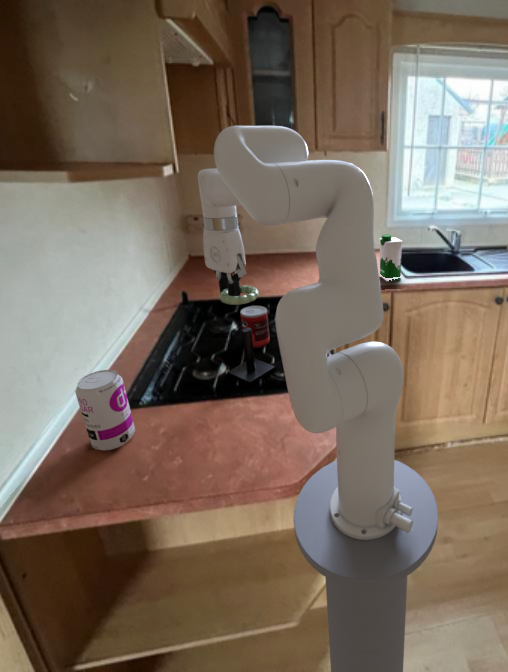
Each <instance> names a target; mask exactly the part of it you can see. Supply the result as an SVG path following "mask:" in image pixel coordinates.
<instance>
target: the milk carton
mask: <svg viewBox="0 0 508 672" xmlns="http://www.w3.org/2000/svg"><path fill="white" fill-rule="evenodd" d="M378 241H379V275H380V274H381V275H382V276H383V277H385V278H393V277H400V276H402V249H403V248H402V247H403V240H402V239H399V238H397V237H394V236H393V237H392V235H391V234H382V235H381V238H379V239H378ZM401 279H402V277H401V278H398V279H395V280H394V279H392V281H391V280H389V282H396V281H397V282H398V281H401Z"/></svg>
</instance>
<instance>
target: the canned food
mask: <svg viewBox="0 0 508 672" xmlns="http://www.w3.org/2000/svg"><path fill="white" fill-rule="evenodd" d="M240 323H241V330H242V329H244V328H251V331H252V339H253V348H254V349H258V348H263V347H265V346H267V345H268V344H269V343H270V340H271V337H270V336H271V335H270V327H269V316H268V309H267V308H266V306H262V305H250V306H246V307H243V308H242V309H240Z"/></svg>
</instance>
